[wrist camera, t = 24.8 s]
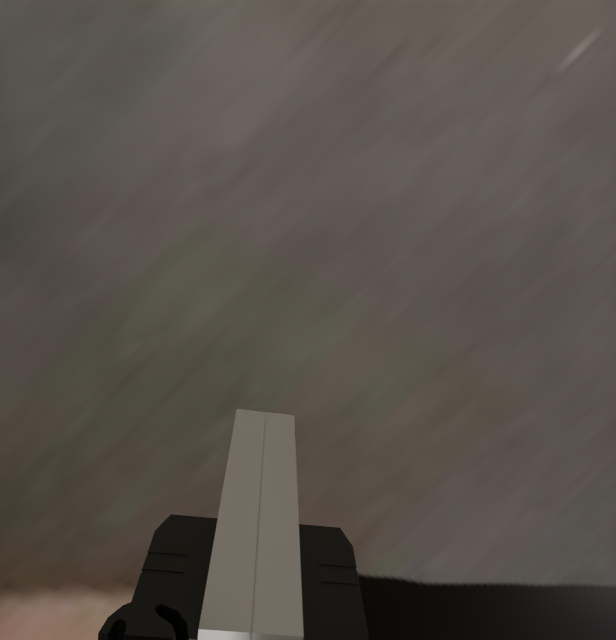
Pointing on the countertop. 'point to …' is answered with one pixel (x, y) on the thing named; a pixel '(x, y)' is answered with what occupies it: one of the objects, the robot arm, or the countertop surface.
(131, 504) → the countertop surface
